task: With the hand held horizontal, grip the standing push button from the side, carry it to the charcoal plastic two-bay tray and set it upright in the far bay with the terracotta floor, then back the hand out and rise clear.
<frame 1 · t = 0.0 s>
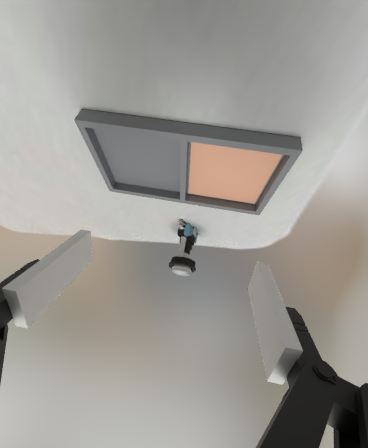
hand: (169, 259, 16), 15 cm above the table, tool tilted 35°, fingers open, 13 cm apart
sorting tray: (185, 164, 28), on the table
push button: (188, 226, 43), on the table
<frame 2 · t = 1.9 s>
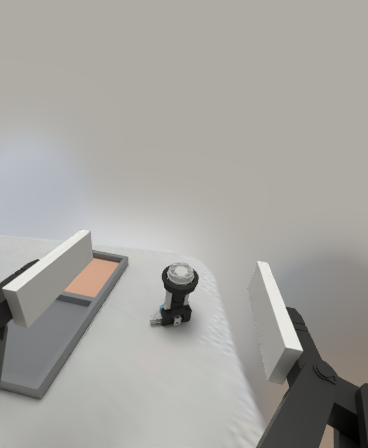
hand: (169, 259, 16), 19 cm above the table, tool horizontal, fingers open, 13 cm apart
sorting tray: (63, 301, 33), on the table
push button: (170, 319, 33), on the table
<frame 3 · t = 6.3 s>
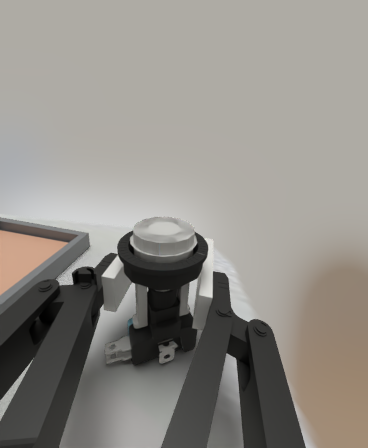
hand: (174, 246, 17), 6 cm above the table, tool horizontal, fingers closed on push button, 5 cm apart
push button: (152, 348, 15), on the table, touching gripper
when the fingers open (8 cm above the table, at t = 11.0 s): push button drops 1 cm, resting on sorting tray.
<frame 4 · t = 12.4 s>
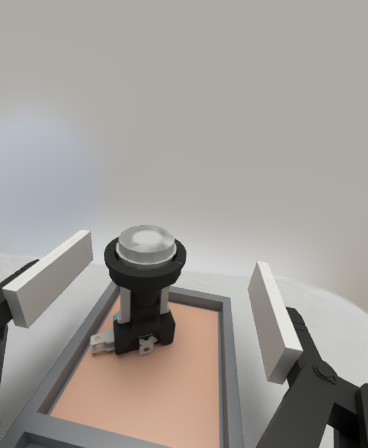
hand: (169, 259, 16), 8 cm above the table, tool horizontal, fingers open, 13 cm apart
push button: (135, 341, 17), point 1 cm above the table, touching sorting tray
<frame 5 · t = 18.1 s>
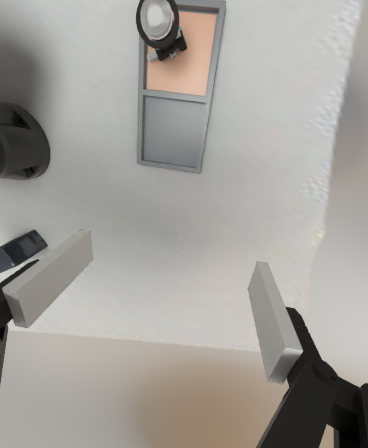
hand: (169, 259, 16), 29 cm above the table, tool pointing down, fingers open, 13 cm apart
box: (31, 242, 55), on the table
sorting tray: (176, 97, 36), on the table
push button: (168, 50, 33), point 1 cm above the table, touching sorting tray
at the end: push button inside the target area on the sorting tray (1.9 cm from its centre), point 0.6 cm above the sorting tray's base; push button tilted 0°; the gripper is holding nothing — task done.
